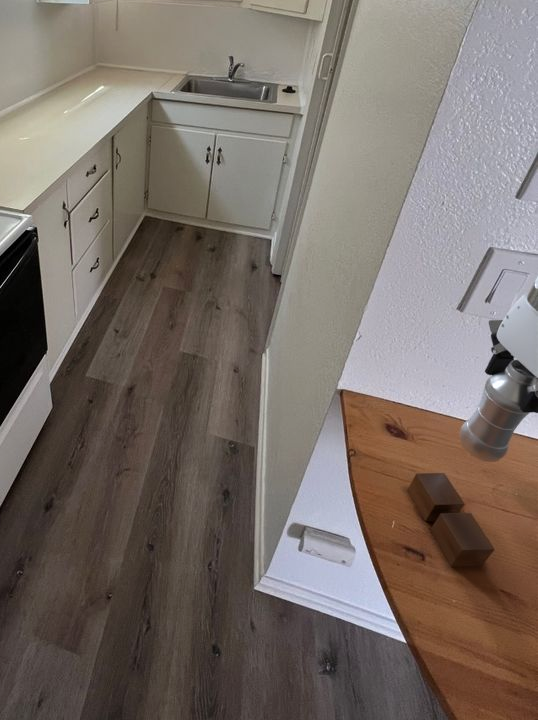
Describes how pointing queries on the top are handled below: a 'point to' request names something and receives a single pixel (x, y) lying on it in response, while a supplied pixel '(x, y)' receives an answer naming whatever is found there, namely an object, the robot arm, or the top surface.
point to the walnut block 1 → (434, 495)
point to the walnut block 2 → (461, 539)
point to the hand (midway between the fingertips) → (512, 390)
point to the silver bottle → (497, 413)
